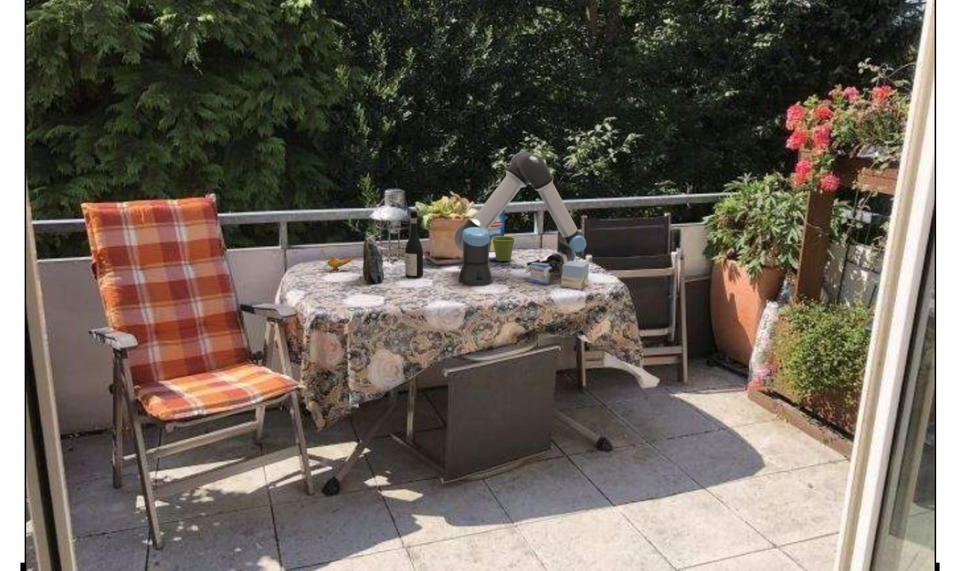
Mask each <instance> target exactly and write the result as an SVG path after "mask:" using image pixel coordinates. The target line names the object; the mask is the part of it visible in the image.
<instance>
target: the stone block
mask: <svg viewBox="0 0 960 571" xmlns="http://www.w3.org/2000/svg"><path fill="white" fill-rule="evenodd" d="M362 258H363V262H362V276H363V278H364V282H365V285H376V284H379V283H383V281H384V278H385V273H384V269H383V266H384V259H383V257H382V252H381V249H380V247H379V245H378V243H377V238H376V237H375V235H374V234H371V235H370V236H368V237H365V240H364V241H363V246H362Z"/></svg>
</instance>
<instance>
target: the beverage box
mask: <svg viewBox="0 0 960 571" xmlns="http://www.w3.org/2000/svg"><path fill="white" fill-rule="evenodd" d="M505 216H506V208H505V209H504V210H503V211H502V213H501V214H500V215H499V216H498V218H497V219H496V220H495V222H494V223H493V224H492V225H491V227H490V228H489V238H490V240H489V253H492V252H494V253H495V249H494V244H493V240H492V238H493V237H498V236H505V221H506V220H505Z"/></svg>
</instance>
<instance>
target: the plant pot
mask: <svg viewBox="0 0 960 571" xmlns="http://www.w3.org/2000/svg"><path fill="white" fill-rule="evenodd" d="M492 240H493V244H494V249H495V252H494V254H495V260H496V261H497V262H502V261H507V262H510V261H511V259H512V255H513V254H512V253H513V246H514V243H515V241H516V237H514V236H509V235H508V236H507V235H506V236H505V235H504V236H498V237H493V238H492Z"/></svg>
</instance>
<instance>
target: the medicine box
mask: <svg viewBox="0 0 960 571" xmlns="http://www.w3.org/2000/svg"><path fill="white" fill-rule="evenodd" d="M532 262H533V261H532ZM549 267H550V264H546V263H537V262H533V263H531V270H530V272H529V273H530V274H529V283H531V284H542V285H548V284H550V277H551V273H550V274H548V275H546V276H544V269H547V268H549Z"/></svg>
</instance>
